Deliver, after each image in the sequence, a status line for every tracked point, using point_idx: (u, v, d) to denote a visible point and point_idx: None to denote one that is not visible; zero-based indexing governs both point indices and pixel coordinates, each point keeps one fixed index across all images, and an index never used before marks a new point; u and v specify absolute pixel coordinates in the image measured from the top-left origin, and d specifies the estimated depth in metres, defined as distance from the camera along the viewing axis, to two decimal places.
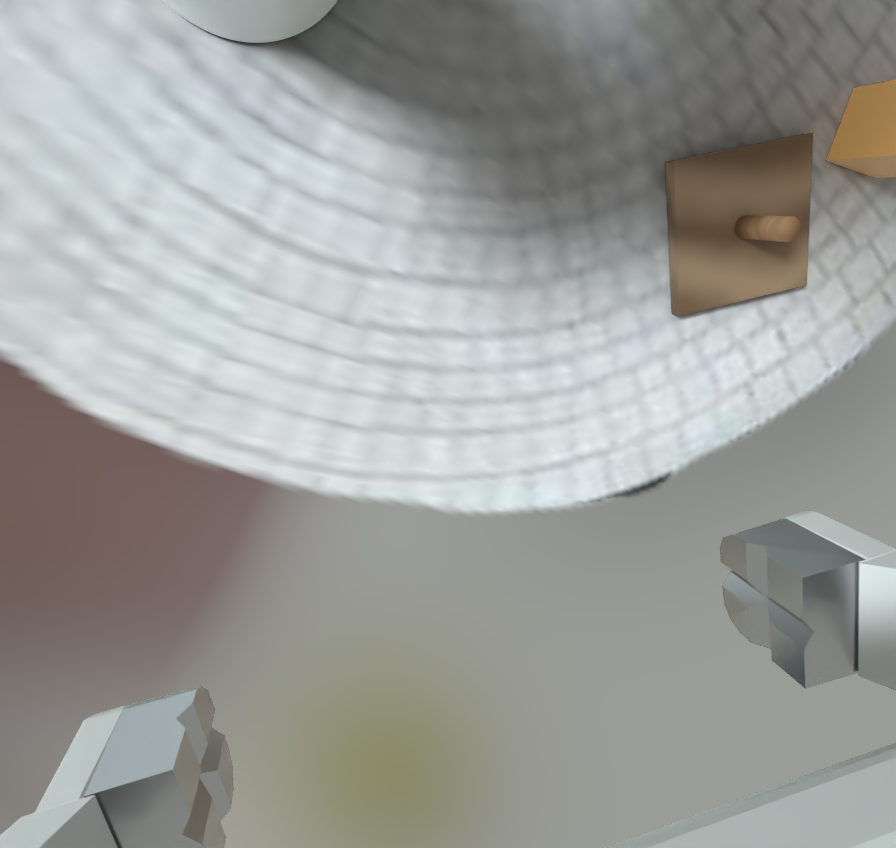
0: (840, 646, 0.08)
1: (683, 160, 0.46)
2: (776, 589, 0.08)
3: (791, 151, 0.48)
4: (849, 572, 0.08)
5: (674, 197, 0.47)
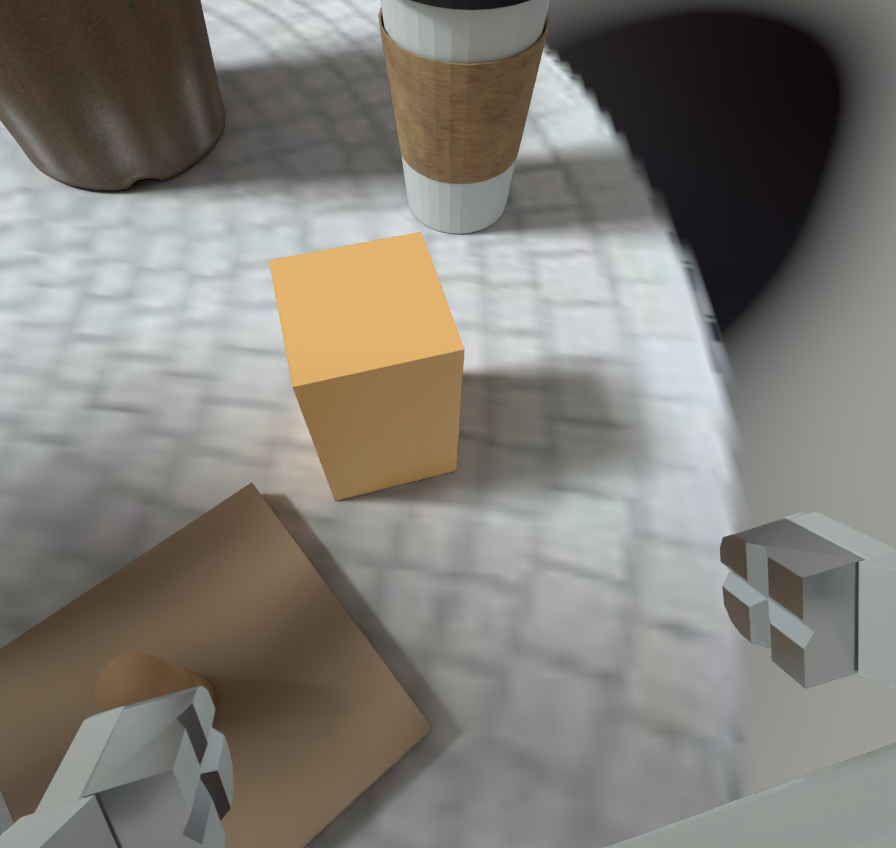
0: (840, 646, 0.08)
1: None
2: (776, 589, 0.08)
3: (223, 527, 0.24)
4: (849, 572, 0.08)
5: None
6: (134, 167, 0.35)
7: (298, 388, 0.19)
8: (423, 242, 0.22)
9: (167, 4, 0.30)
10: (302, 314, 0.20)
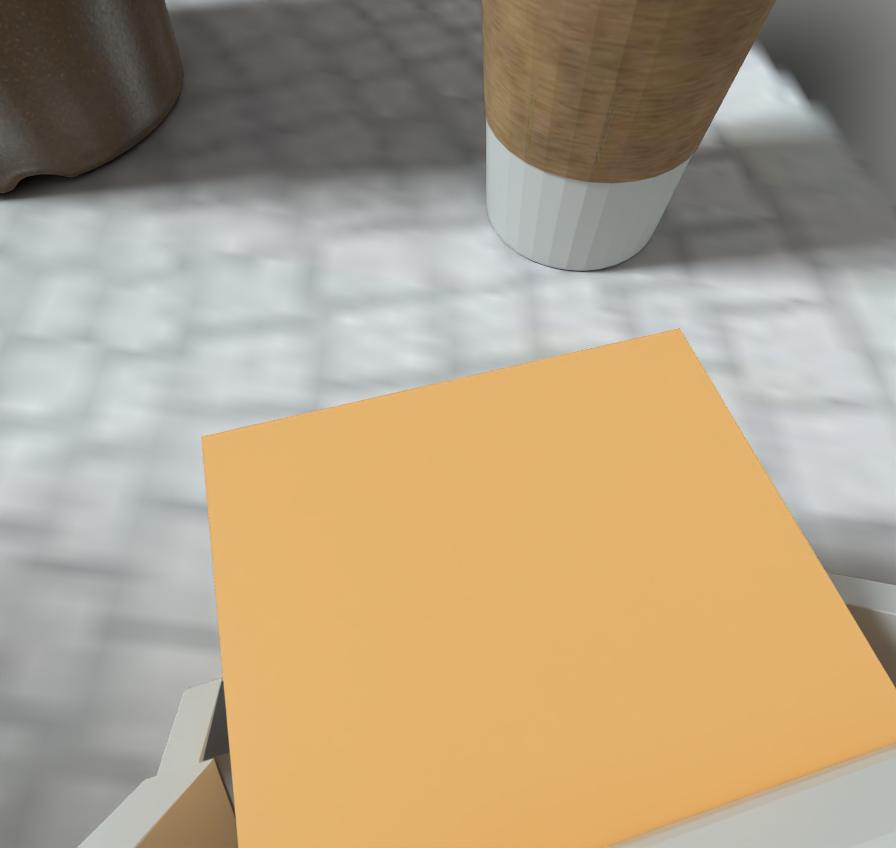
0: None
1: None
2: None
3: None
4: None
5: None
6: (14, 155, 0.20)
7: None
8: (697, 365, 0.07)
9: None
10: (316, 689, 0.05)
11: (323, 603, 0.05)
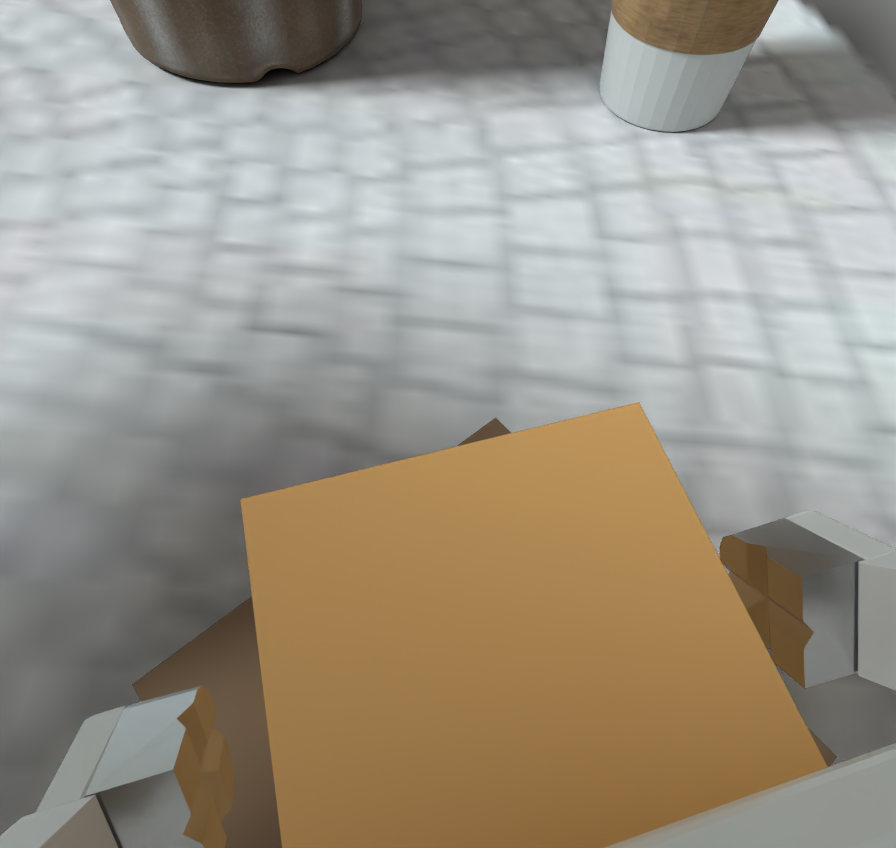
0: (840, 646, 0.08)
1: (163, 665, 0.15)
2: (776, 589, 0.09)
3: None
4: (849, 572, 0.08)
5: None
6: (270, 50, 0.28)
7: None
8: (652, 436, 0.08)
9: None
10: (338, 710, 0.06)
11: (343, 640, 0.07)
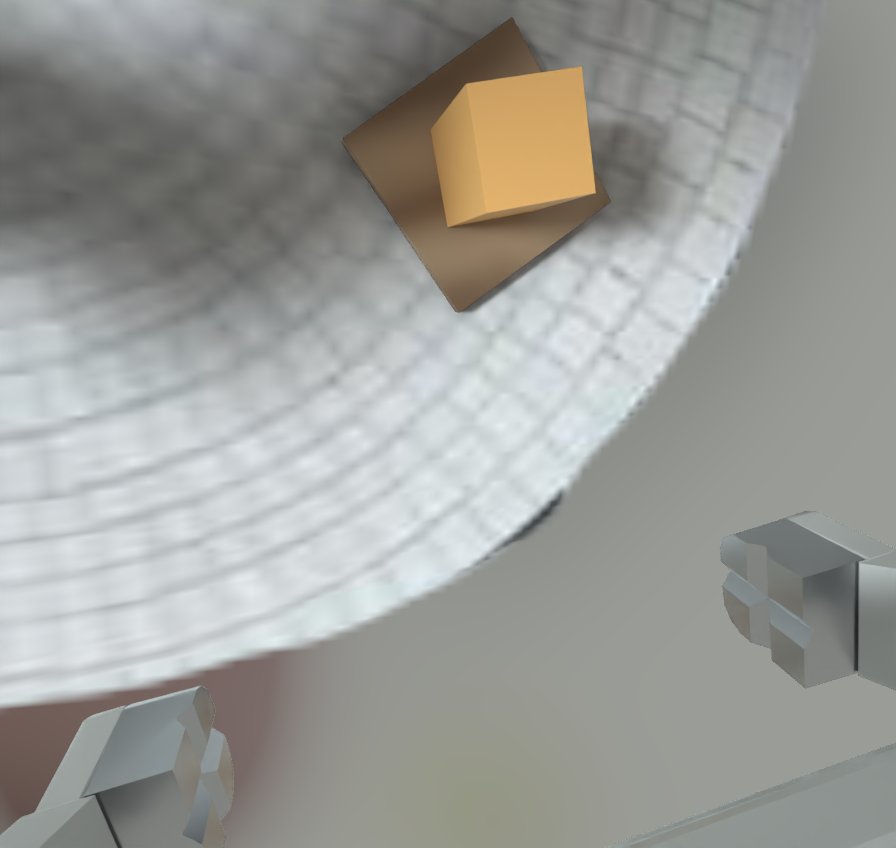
0: (840, 646, 0.08)
1: (355, 131, 0.34)
2: (776, 589, 0.08)
3: (494, 53, 0.35)
4: (849, 572, 0.08)
5: (370, 179, 0.35)
6: None
7: (488, 212, 0.28)
8: (582, 79, 0.28)
9: None
10: (492, 146, 0.28)
11: (493, 130, 0.27)
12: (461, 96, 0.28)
